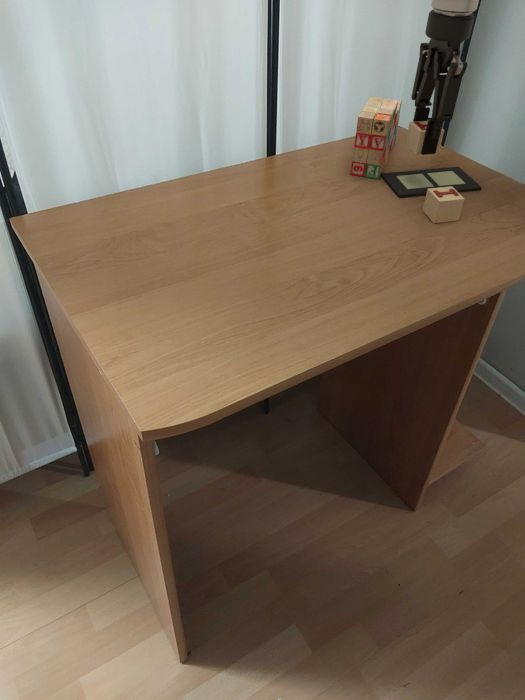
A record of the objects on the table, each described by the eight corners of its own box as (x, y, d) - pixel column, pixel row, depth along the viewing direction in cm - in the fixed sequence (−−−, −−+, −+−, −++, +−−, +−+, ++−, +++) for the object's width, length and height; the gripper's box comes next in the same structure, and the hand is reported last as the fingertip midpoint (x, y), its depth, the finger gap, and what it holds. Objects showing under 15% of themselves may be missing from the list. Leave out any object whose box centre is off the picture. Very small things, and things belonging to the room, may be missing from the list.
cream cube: (439, 153, 105) (445, 128, 101) (415, 155, 104) (420, 130, 100) (427, 142, 108) (433, 119, 105) (404, 144, 107) (409, 120, 104)
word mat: (481, 190, 109) (482, 186, 109) (398, 198, 107) (399, 194, 106) (458, 168, 117) (458, 165, 116) (380, 175, 114) (380, 172, 113)
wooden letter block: (446, 207, 104) (452, 185, 101) (458, 220, 100) (465, 197, 97) (422, 210, 103) (427, 187, 100) (433, 223, 100) (439, 200, 96)
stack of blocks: (369, 137, 128) (377, 82, 120) (395, 141, 127) (405, 86, 119) (349, 175, 114) (357, 115, 105) (379, 179, 112) (389, 119, 104)
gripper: (409, 0, 95) (386, 131, 111) (457, 24, 83) (423, 169, 99) (448, -2, 97) (420, 128, 113) (501, 23, 84) (460, 165, 100)
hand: (421, 147), depth 106 cm, fingers closed on cream cube, 5 cm apart
